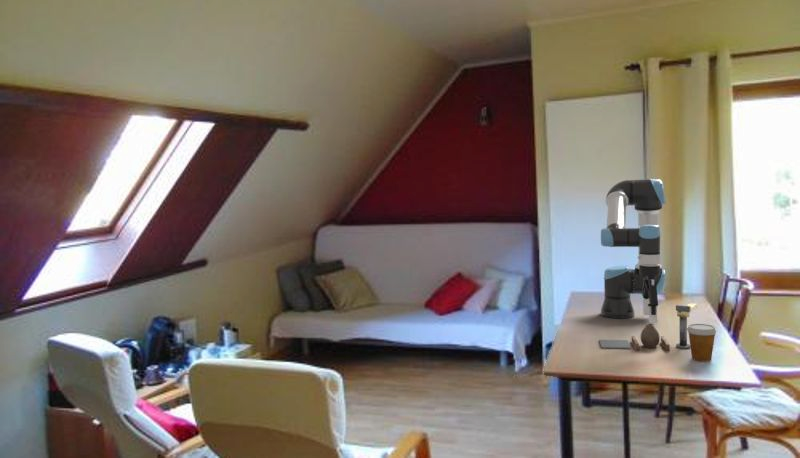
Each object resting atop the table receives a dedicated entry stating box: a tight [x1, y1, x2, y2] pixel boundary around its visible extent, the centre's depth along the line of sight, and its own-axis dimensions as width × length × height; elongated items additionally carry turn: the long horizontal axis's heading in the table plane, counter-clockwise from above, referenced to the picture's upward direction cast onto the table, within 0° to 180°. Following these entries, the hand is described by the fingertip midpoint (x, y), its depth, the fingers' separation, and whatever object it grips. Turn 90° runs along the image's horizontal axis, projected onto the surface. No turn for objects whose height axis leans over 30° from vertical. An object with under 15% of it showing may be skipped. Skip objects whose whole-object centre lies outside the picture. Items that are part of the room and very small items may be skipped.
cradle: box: [631, 335, 671, 352], centre depth 239 cm, size 12×12×2 cm
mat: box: [598, 339, 632, 350], centre depth 243 cm, size 11×11×1 cm
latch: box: [675, 302, 697, 318], centre depth 240 cm, size 5×18×4 cm, turn 141°
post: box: [675, 317, 691, 350], centre depth 235 cm, size 5×5×12 cm
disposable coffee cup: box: [687, 323, 717, 362], centre depth 220 cm, size 10×10×12 cm
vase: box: [640, 323, 661, 349], centre depth 238 cm, size 7×7×9 cm
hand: (650, 319), depth 237 cm, fingers open, 13 cm apart
